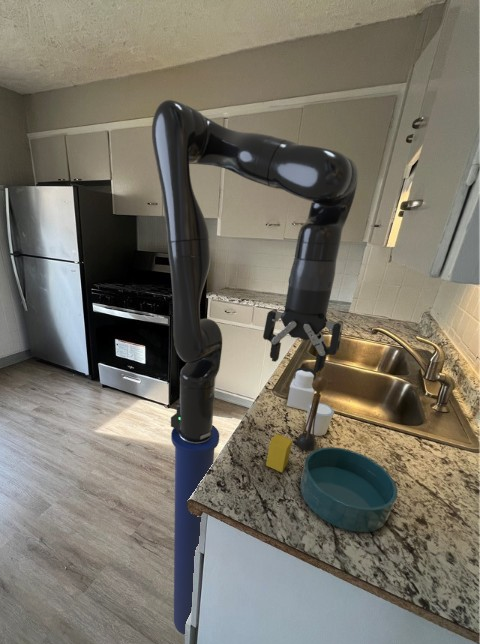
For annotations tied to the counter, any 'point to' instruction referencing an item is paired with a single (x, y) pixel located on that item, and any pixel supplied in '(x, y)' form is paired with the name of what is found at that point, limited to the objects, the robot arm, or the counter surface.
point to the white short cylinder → (320, 419)
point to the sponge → (279, 452)
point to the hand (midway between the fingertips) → (294, 365)
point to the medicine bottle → (301, 389)
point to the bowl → (347, 489)
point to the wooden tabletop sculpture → (313, 415)
